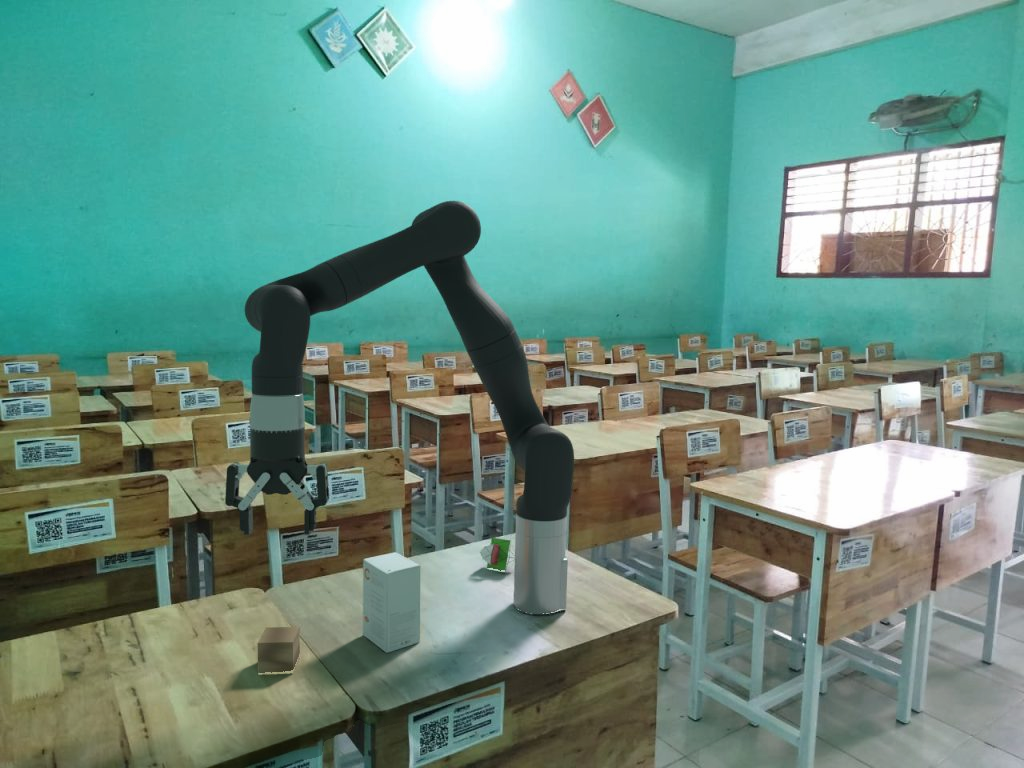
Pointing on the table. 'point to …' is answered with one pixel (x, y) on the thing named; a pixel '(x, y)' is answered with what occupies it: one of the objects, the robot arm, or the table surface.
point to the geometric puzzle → (496, 553)
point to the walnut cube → (278, 649)
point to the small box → (391, 601)
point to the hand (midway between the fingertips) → (278, 533)
